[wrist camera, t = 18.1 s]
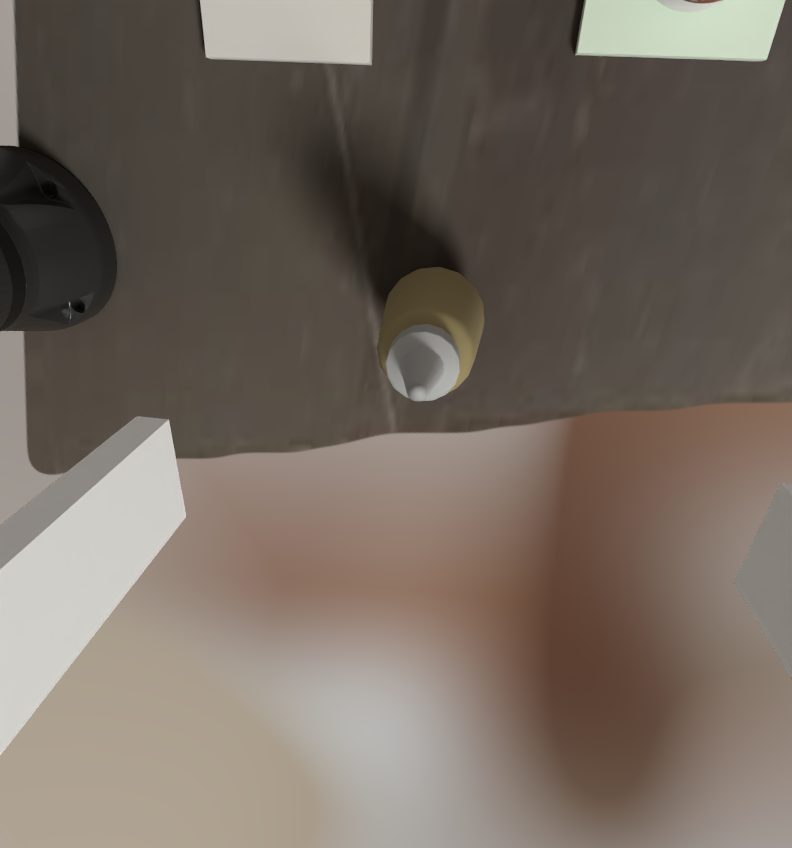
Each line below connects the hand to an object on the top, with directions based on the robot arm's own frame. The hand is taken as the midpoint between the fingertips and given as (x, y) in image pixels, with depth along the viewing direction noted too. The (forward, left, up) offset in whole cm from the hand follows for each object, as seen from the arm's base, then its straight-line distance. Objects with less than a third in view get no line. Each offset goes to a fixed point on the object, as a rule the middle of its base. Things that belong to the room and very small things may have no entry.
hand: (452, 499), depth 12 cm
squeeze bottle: (-2, -5, -35) cm, 35 cm away
